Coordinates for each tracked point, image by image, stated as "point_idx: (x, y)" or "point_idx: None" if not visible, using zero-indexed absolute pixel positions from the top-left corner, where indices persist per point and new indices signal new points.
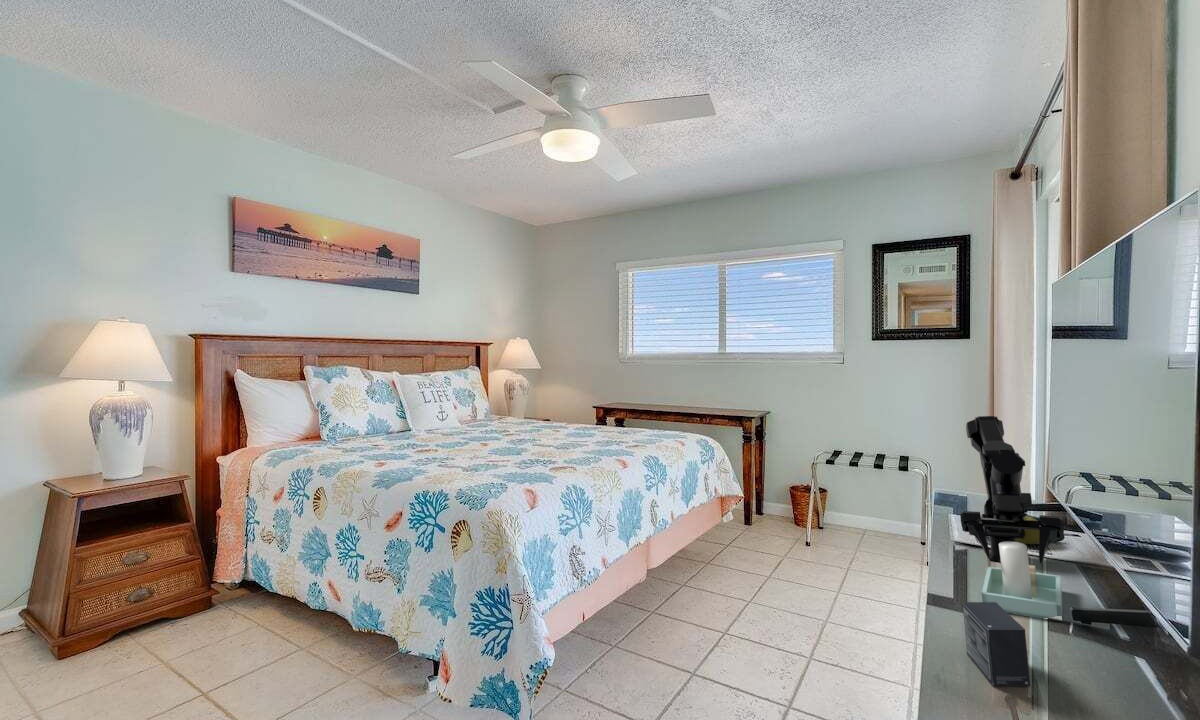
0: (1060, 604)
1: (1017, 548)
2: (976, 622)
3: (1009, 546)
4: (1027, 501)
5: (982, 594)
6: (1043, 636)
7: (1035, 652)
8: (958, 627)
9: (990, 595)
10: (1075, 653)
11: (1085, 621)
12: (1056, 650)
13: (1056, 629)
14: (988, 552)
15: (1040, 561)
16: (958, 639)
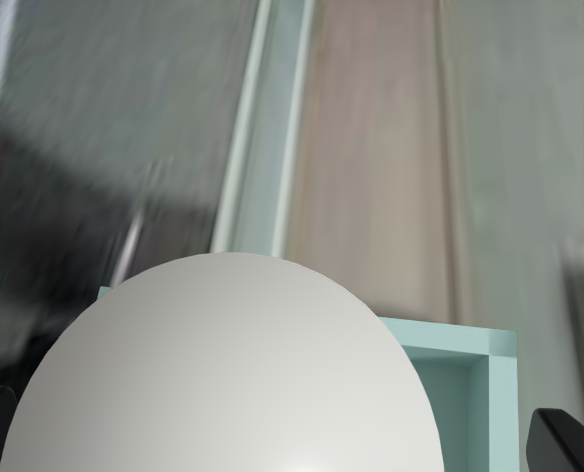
0: (99, 297)
1: (166, 311)
2: None
3: (271, 389)
4: None
5: (508, 332)
6: (243, 152)
7: (289, 32)
8: (570, 115)
9: (460, 327)
10: (164, 70)
11: (42, 352)
12: (219, 68)
13: (182, 230)
14: (570, 442)
15: (3, 388)
16: (551, 24)
